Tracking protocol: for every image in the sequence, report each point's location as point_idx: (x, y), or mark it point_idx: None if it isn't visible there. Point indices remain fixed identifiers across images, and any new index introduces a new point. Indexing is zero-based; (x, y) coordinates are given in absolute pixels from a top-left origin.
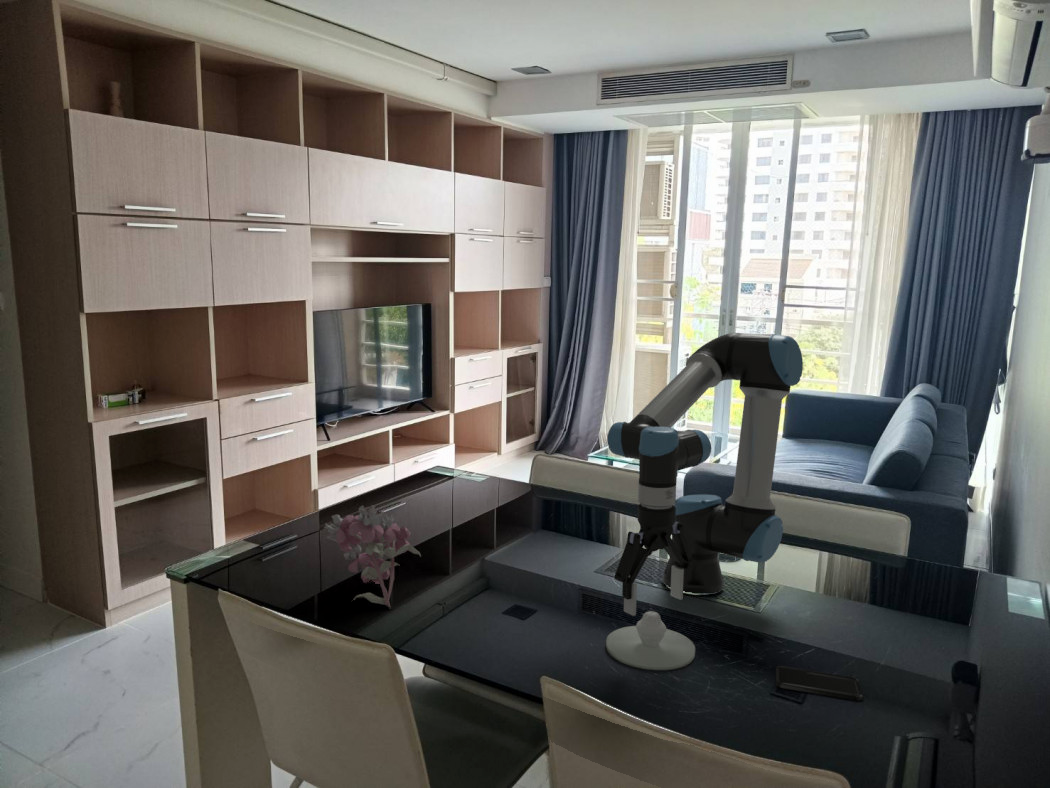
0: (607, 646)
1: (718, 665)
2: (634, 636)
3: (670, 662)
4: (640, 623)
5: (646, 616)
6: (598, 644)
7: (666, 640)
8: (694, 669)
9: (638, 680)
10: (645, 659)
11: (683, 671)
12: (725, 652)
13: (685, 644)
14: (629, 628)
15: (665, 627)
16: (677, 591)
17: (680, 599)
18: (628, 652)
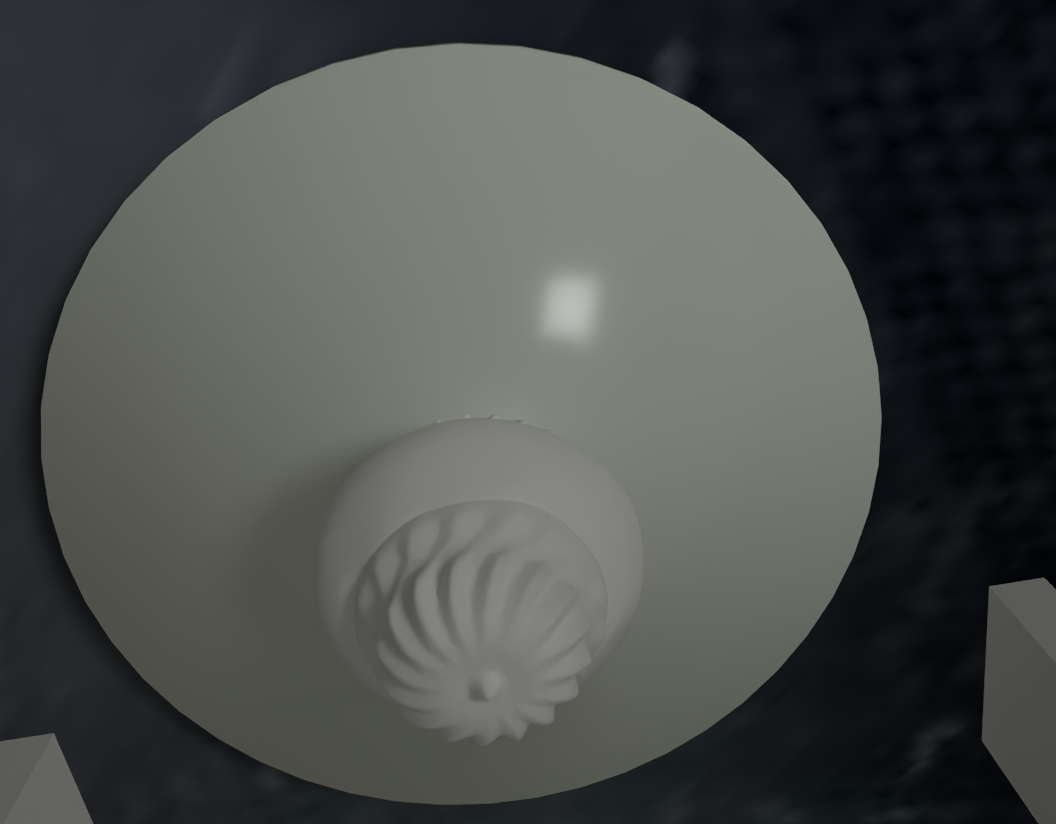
0: (52, 352)
1: (771, 818)
2: (429, 293)
3: (422, 786)
4: (348, 582)
5: (395, 679)
6: (42, 175)
7: (660, 484)
8: (577, 811)
9: (92, 810)
10: (258, 693)
11: (485, 809)
12: (978, 698)
13: (754, 598)
14: (496, 99)
15: (589, 678)
16: (1043, 771)
17: (990, 738)
18: (179, 551)
